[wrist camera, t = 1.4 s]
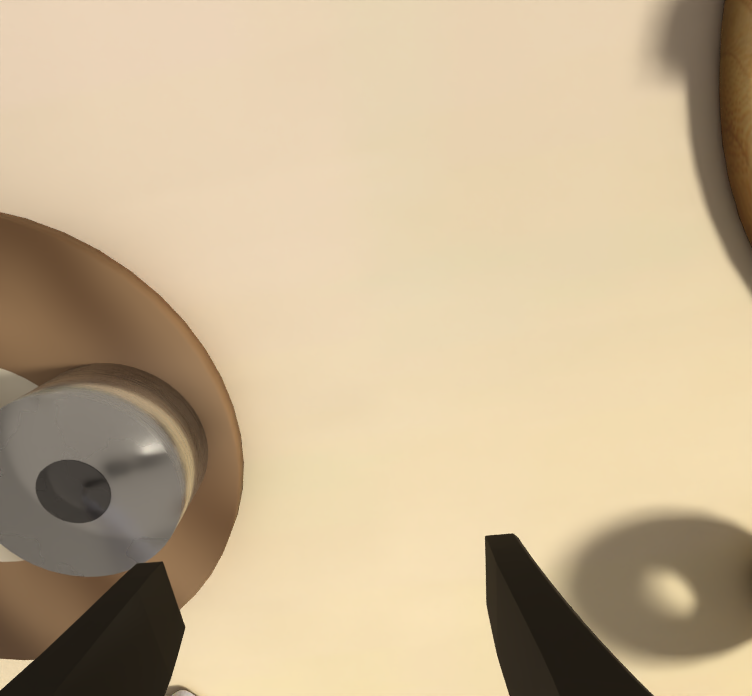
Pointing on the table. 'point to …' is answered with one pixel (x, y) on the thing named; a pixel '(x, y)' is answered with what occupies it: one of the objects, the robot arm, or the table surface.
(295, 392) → the table surface
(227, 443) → the turntable
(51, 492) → the cover
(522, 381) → the table surface
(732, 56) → the wooden plate with food
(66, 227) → the table surface
